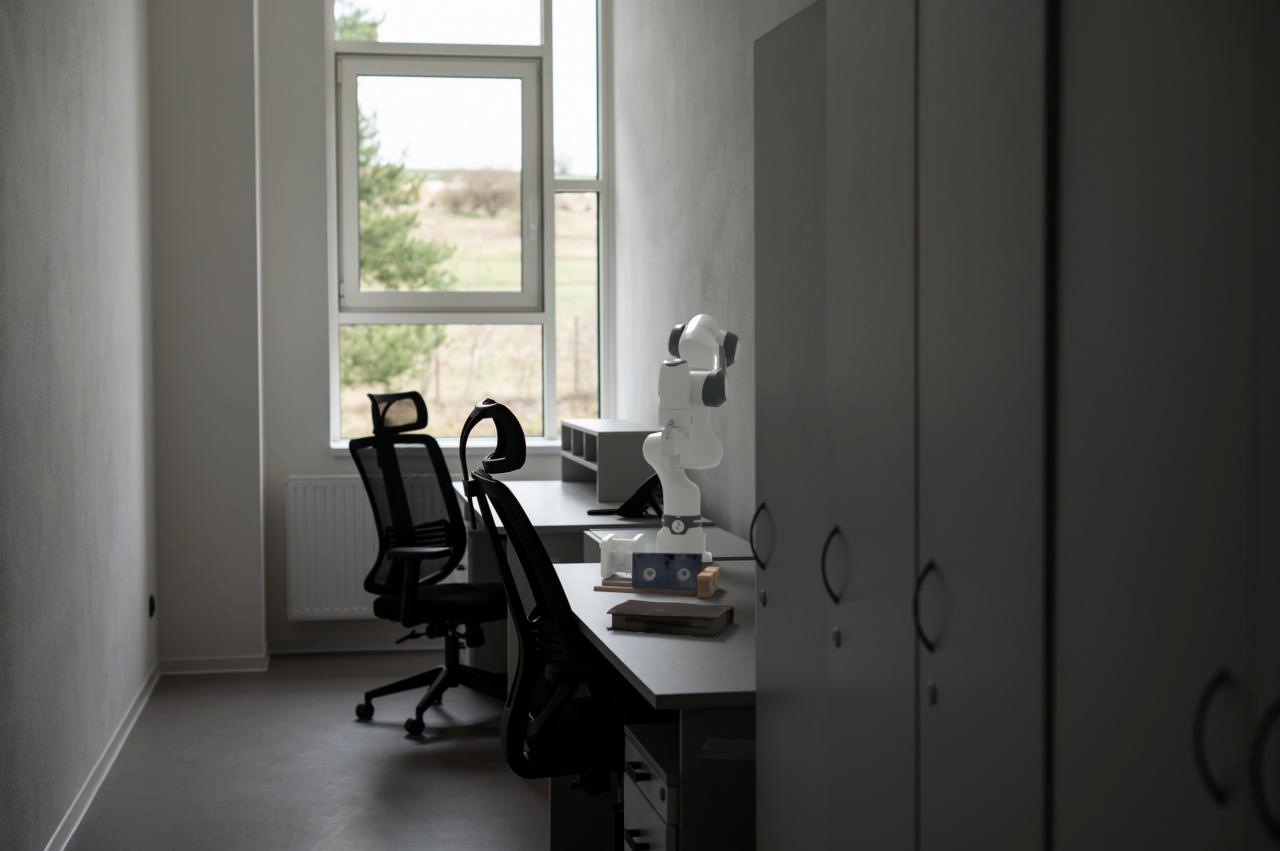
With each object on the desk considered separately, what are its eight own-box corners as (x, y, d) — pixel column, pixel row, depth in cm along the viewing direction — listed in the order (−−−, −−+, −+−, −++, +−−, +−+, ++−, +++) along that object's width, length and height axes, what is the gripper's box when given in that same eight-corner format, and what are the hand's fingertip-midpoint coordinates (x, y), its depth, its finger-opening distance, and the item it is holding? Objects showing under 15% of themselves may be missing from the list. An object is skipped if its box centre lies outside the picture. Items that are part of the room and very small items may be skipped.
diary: (629, 618, 297) (630, 597, 296) (734, 625, 289) (734, 604, 289) (605, 633, 279) (605, 610, 279) (715, 641, 272) (716, 617, 271)
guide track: (606, 582, 342) (606, 561, 342) (719, 587, 335) (719, 566, 335) (590, 592, 327) (590, 570, 326) (709, 598, 320) (709, 576, 319)
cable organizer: (636, 582, 343) (637, 539, 343) (598, 581, 345) (598, 538, 344) (645, 573, 358) (645, 532, 358) (608, 572, 360) (608, 531, 359)
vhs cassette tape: (701, 590, 332) (701, 552, 332) (702, 592, 329) (702, 554, 329) (631, 589, 332) (631, 552, 332) (631, 591, 329) (631, 553, 329)
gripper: (678, 421, 329) (678, 474, 330) (693, 417, 349) (693, 467, 350) (654, 421, 331) (654, 474, 331) (671, 417, 350) (671, 467, 351)
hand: (674, 470), depth 341 cm, fingers closed
